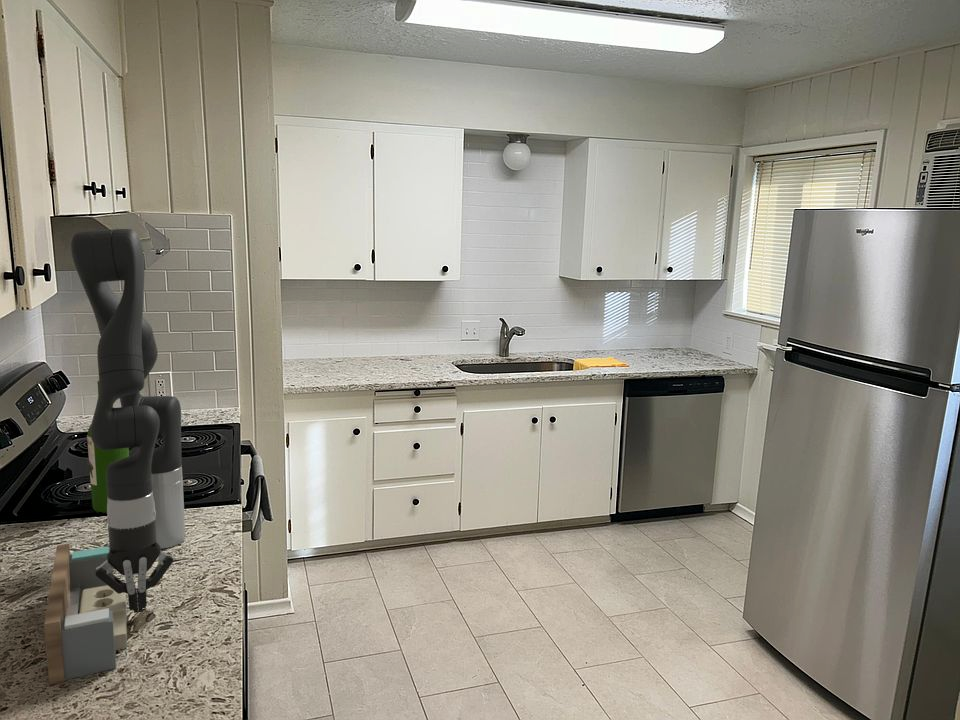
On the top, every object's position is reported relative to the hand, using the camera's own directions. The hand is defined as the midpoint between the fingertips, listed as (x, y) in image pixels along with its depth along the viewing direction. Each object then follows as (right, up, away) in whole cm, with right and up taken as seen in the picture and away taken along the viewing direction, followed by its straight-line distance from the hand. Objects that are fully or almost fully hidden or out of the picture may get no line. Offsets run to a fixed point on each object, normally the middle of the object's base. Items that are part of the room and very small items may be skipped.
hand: (138, 610), depth 126 cm
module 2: (0, -4, -14) cm, 15 cm away
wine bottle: (-32, +7, +53) cm, 62 cm away
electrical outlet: (-5, -3, -3) cm, 6 cm away
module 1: (-12, 0, +8) cm, 15 cm away
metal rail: (-9, -2, -4) cm, 10 cm away
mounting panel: (-10, -2, -5) cm, 12 cm away
